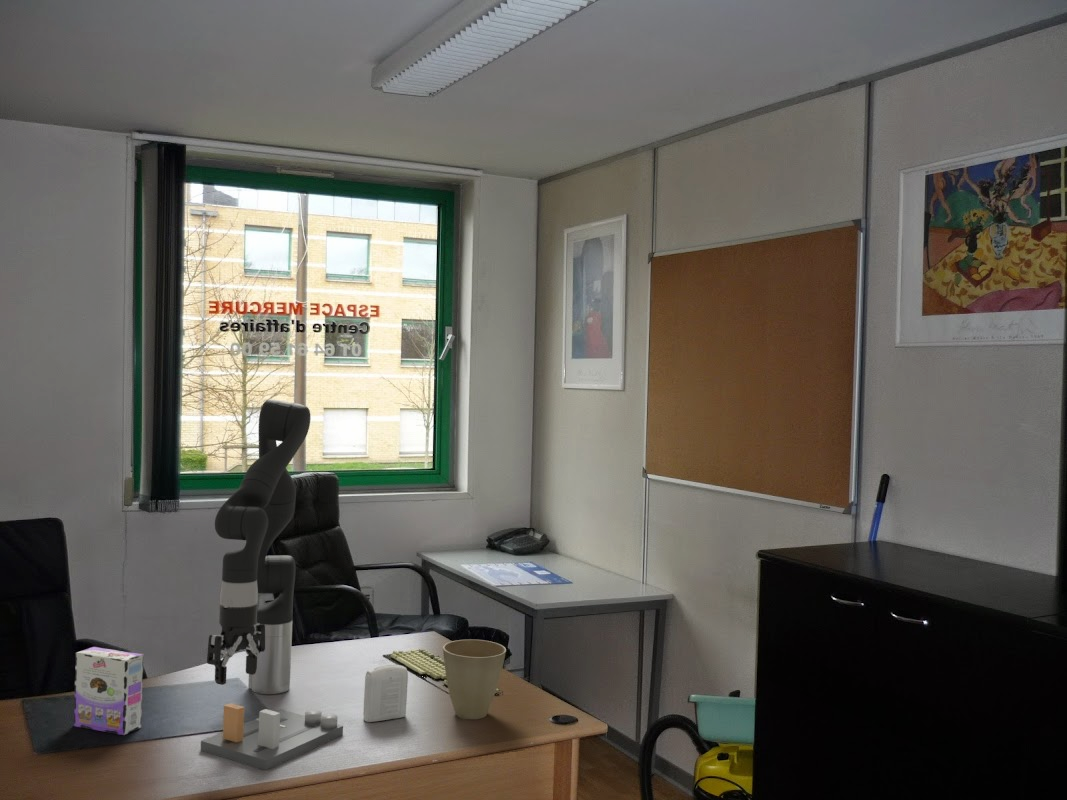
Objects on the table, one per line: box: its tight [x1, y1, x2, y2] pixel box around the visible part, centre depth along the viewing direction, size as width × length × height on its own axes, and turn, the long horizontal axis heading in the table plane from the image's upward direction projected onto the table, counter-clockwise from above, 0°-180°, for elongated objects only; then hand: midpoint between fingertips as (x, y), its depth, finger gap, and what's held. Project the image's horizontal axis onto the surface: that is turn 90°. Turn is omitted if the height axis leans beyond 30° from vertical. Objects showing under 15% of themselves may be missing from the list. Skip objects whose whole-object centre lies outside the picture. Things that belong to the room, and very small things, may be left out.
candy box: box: [73, 646, 144, 736], centre depth 223 cm, size 14×6×16 cm, turn 71°
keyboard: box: [382, 648, 504, 696], centre depth 273 cm, size 45×15×2 cm, turn 35°
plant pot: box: [442, 639, 507, 720], centre depth 242 cm, size 15×15×16 cm
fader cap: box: [222, 702, 245, 743], centre depth 214 cm, size 4×2×7 cm, turn 62°
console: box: [200, 708, 344, 771], centre depth 219 cm, size 18×24×9 cm
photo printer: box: [362, 663, 409, 723], centre depth 237 cm, size 10×4×12 cm, turn 123°
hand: (235, 678), depth 213 cm, fingers open, 8 cm apart
